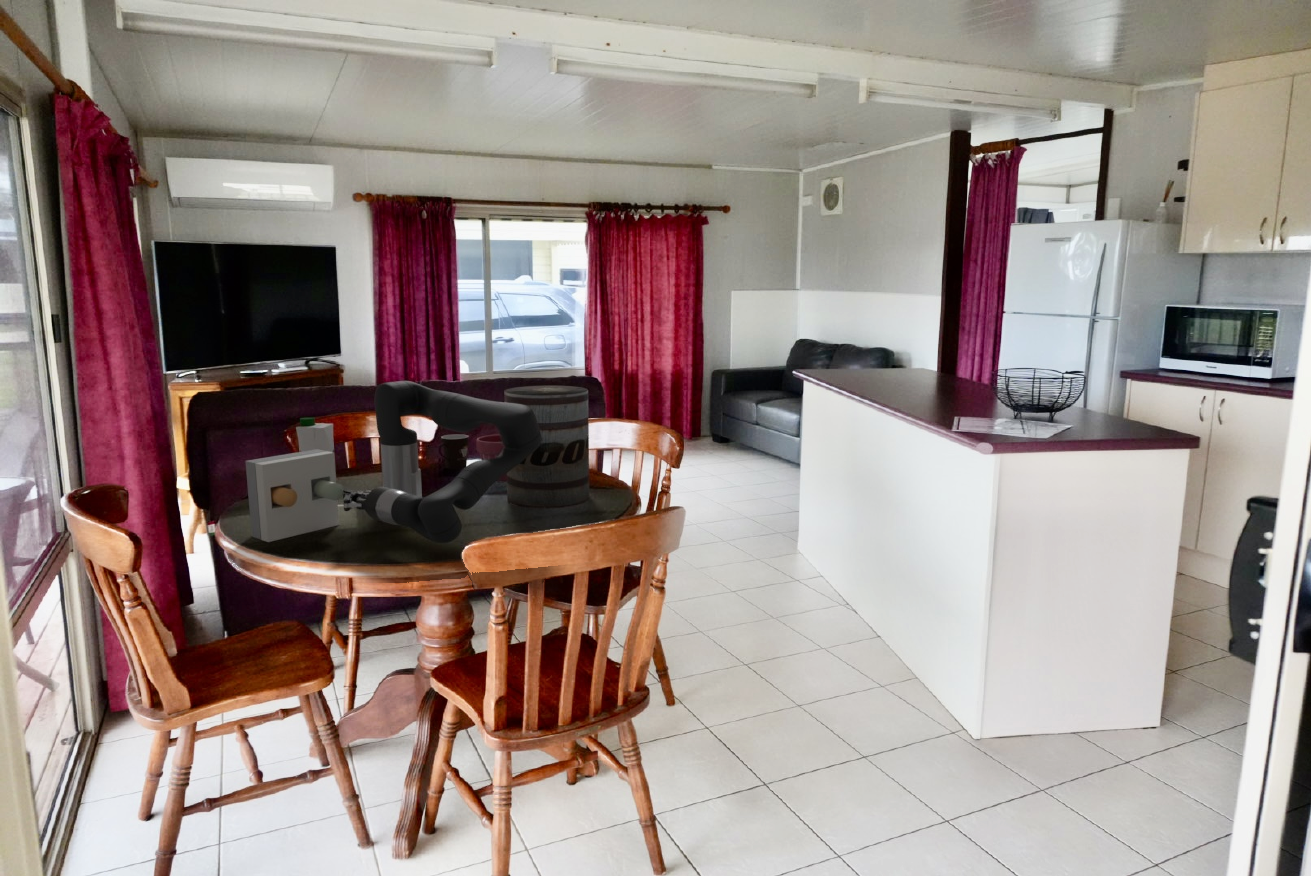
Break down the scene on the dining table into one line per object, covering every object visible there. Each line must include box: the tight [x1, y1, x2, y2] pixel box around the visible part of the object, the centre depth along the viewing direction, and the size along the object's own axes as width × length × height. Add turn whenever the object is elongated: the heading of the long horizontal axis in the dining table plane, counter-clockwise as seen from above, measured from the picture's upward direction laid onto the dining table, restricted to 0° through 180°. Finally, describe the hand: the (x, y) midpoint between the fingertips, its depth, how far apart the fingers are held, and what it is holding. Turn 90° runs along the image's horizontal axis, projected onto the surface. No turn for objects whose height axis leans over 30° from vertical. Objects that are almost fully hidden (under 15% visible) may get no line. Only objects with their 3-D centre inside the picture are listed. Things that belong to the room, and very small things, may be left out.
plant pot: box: [476, 433, 507, 483], centre depth 257 cm, size 14×14×13 cm
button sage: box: [314, 480, 345, 501], centre depth 201 cm, size 6×4×4 cm, turn 53°
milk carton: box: [295, 416, 335, 454], centre depth 247 cm, size 9×9×20 cm
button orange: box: [270, 486, 297, 507], centre depth 195 cm, size 6×4×4 cm, turn 53°
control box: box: [245, 449, 340, 543], centre depth 201 cm, size 7×18×18 cm, turn 143°
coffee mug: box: [438, 433, 469, 470], centre depth 273 cm, size 12×9×10 cm
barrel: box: [503, 385, 590, 510], centre depth 232 cm, size 22×22×30 cm
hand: (346, 494), depth 197 cm, fingers closed
